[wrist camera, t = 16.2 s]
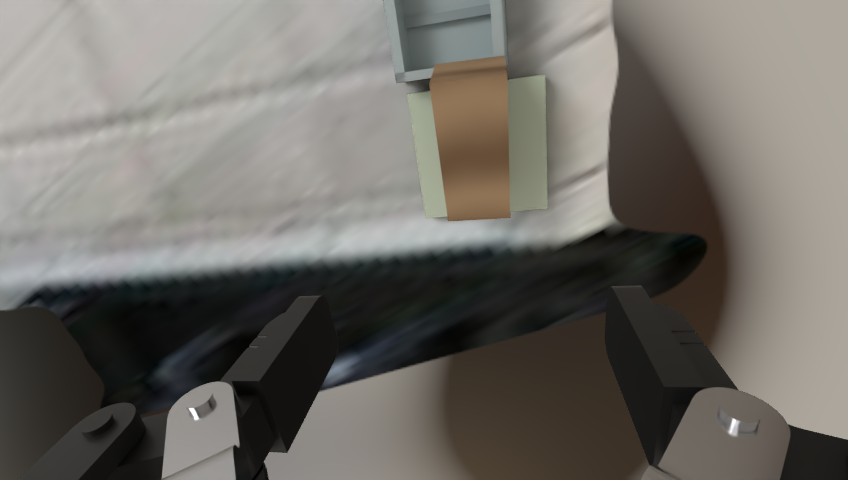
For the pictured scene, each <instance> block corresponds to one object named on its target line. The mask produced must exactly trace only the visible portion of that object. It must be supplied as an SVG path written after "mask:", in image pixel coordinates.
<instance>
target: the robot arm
mask: <svg viewBox="0 0 848 480" xmlns="http://www.w3.org/2000/svg"><path fill="white" fill-rule="evenodd" d="M605 325H606V326H605V345H606V351H607V356H608V359H609V362H610V364H611V367H612V369H613V372H614V375H615V377H616V380H617V382H618V385H619V387H620V390H621V393H622V395H623V398H624V400H625V403H626V405H627V408H628V411H629V414H630V416H631V419H632V421H633V424H634V426H635V429H636V431H637V434H638V437H639V439H640V442H641V445H642V447H643V450H644V452H645V455H646V457H647V460H648V463H649V465H650V466H649V467H648V468H647V470H646V472H645V473H644V475H643V477H642V479H641V480H848V440H846V439H842V438H837V437H833V436H829V435H825V434H821V433H817V432H813V431H808V430H804V429H801V428H797V427H794V426H791V425H788V424H787V422H786V421H785V419H784V418H783V417H782V416H781V414H780V413H778V411H777V410H775V409H774V408H773V407H772V406H770V405H769V404H767V403H766V402H764V401H763V400H761V399H759V398H757V397H755V396H753V395H750V394H748V393H745V392H742V391H739V390H738V389H737V387H736V386H735V385H734V383H733V382H732V381H731V379H730V378H729V377H728V375H727V374H726V372H725V371H724V370H723V368H722V367H721V366H720V364H719V363H718V362H717V360H716V359H715V358H714V356H713V355H712V353H711V352H710V351H709V349H708V348H707V347H706V346H704V344H703V341H702V340H701V339H700V337H699V336H698V335H697V333H696V334H695V332H694V331H695V330H694V329H693V328H692V327H691V325H690V324H689V322H688V321H687V320H686V318H685V317H684V316H683V315H681V314H680V313H678V312H677V311H675V310H674V309H672V308H671V307H669V306H668V305H666V304H658V305H657V304H656V305H654V304H653V302H652V301H651V299H650V298H649V296H648V295H647V293H646V292H645V290H644V289H643V287H642V286H615V287H609V289H608V293H607V307H606V324H605ZM337 352H338V337H337V333H336V330H335V326H334V322H333V319H332V315H331V311H330V308H329V304H328V301H327V299H326V298H325V297H324V296H301V297H298V298H297V299H296V300H295V301H294V302H293V304H292V305H291V306H290V307H289V309H288V310H287V311H286V312H285V313H282V314H281V315H279V316H278V317H276V318H275V319H274V320H272V321H271V322H269V323H268V324H267V325H266V326H265V327H264V329H263V330H262V331H261V332H260V334H259V335H258V338H255V340H254V341H253V342H252V343H251V344H250V347H249V348H247V349H246V350H245V352H244V353H243V354H242V355H241V356H240V358H239V359H238V360H237V361H236V362H235V364H234V365H233V366H232V367H231V368H230V370H229V371H228V372H227V373H226V374H225V376H224V377H223V378H222V379H221V380H220V382H212V383H208V384H205V385H202V386H199V387H197V388H195V389H193V390H192V391H190V392H188V393H187V394H185V395H184V396H183V397H181V398H180V399H179V400H178V401H177V402H176V403H175V404H174V405H173V407H172V408H171V410H170V412H166V413H161V414H157V415H153V416H149V417H145V418H141V417H140V415H139V414H138V412H137V410H136V408H135V407H134V405H132V404H130V403H118V404H114V405H110V406H107V407H105V408H102V409H100V410H98V411H96V412H94V413H93V414H91V415H89V416H88V417H86V418H85V419H84V420H82V421H81V422H79V423H78V424H77V425H76V426H74V427H73V428H72V429H71V430H70V431H69V432H68V433H67V434H66V435H65V436H64V437H63V438H62V439H60V440H59V441H58V442H57V443H56V444H55V445H54V446H53V447H52V448H51V449H50V450H49V451H48V452H47V453H46V454H45V455H44V456H42V457H41V458H40V459H39V460H38V461H37V462H36V463H35V464H34V465H33V466H32V467H31V468H30V469H29V470H28V471H27V472H25V473H24V474H23V475H22V476H21V477H20V478H19V479H18V480H269V478H268V472H267V468H266V466H265V463H264V460H265V458H266V456H267V455H268V453H269V452H282V453H287V452H288V450H289V448H290V446H291V444H292V443H293V440H294V439H295V437H296V434H297V433H298V431H299V429H300V427H301V425H302V423H303V421H304V419H305V417H306V415H307V413H308V411H309V409H310V407H311V405H312V403H313V401H314V400H315V398H316V396H317V394H318V392H319V390H320V388H321V386H322V384H323V382H324V380H325V378H326V376H327V374H328V372H329V370H330V368H331V366H332V364H333V363H334V361H335V358H336V356H337Z"/></svg>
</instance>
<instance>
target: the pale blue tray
mask: <svg viewBox="0 0 848 480" xmlns="http://www.w3.org/2000/svg"><path fill="white" fill-rule="evenodd" d="M383 2H384V9H385V15H386V21H387V28H388V34H389V40H390V47H391V53H392V60H393V66H394V72H395V79H396V83H400V82H407V81H414V80H421V79H427V78H431V77H432V73H433V70H434V67H435V64H441V63H449V62H457V61H465V60H473V59H481V58H488V57H496V56H505V62H506V66H508V53H507V34H506V14H505V0H383Z"/></svg>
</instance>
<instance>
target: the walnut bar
mask: <svg viewBox="0 0 848 480" xmlns="http://www.w3.org/2000/svg"><path fill="white" fill-rule="evenodd" d="M429 86H430V93H431V101H432V108H433V115H434V122H435V130H436V137H437V144H438V151H439V159H440V166H441V173H442V180H443V188H444V195H445V202H446V209H447V217H448V221H460V220H479V219H497V218H510V181H509V131H508V80H507V69H506V62H505V56H496V57H488V58H481V59H473V60H465V61H457V62H449V63H441V64H435V67H434V70H433V73H432V77H431V80H430V83H429Z"/></svg>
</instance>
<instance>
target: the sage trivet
mask: <svg viewBox="0 0 848 480" xmlns="http://www.w3.org/2000/svg"><path fill="white" fill-rule="evenodd" d="M507 80H508V131H509V181H510V212H511V211H524V210H537V209H548V202H547V145H546V87H545V75H544V74H542V75H535V76H528V77H521V78H514V79H507ZM407 96H408V103H409V110H410V117H411V123H412V130H413V137H414V144H415V150H416V157H417V164H418V171H419V178H420V184H421V191H422V198H423V205H424V211H425V218H433V217H446V216H447V209H446V202H445V195H444V188H443V180H442V173H441V166H440V159H439V151H438V144H437V137H436V130H435V122H434V115H433V108H432V101H431V93H430V90H429V91H421V92H414V93H409V94H407Z"/></svg>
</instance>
